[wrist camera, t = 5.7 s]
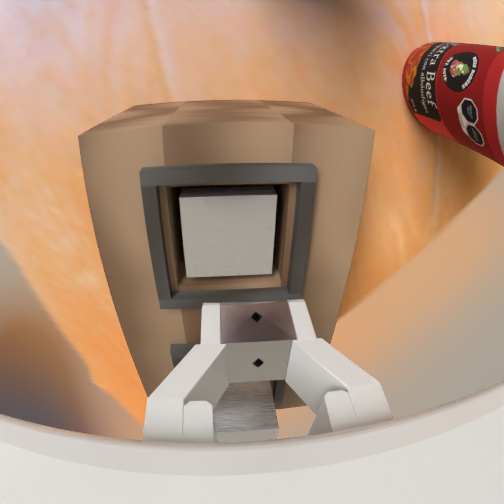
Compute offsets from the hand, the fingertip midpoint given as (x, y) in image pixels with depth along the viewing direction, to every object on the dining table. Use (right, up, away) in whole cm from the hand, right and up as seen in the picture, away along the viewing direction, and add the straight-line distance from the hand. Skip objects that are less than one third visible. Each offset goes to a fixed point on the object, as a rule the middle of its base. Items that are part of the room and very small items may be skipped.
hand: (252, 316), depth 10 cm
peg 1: (-2, +7, +12) cm, 14 cm away
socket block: (-2, +4, +15) cm, 16 cm away
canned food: (+15, +15, +10) cm, 24 cm away
